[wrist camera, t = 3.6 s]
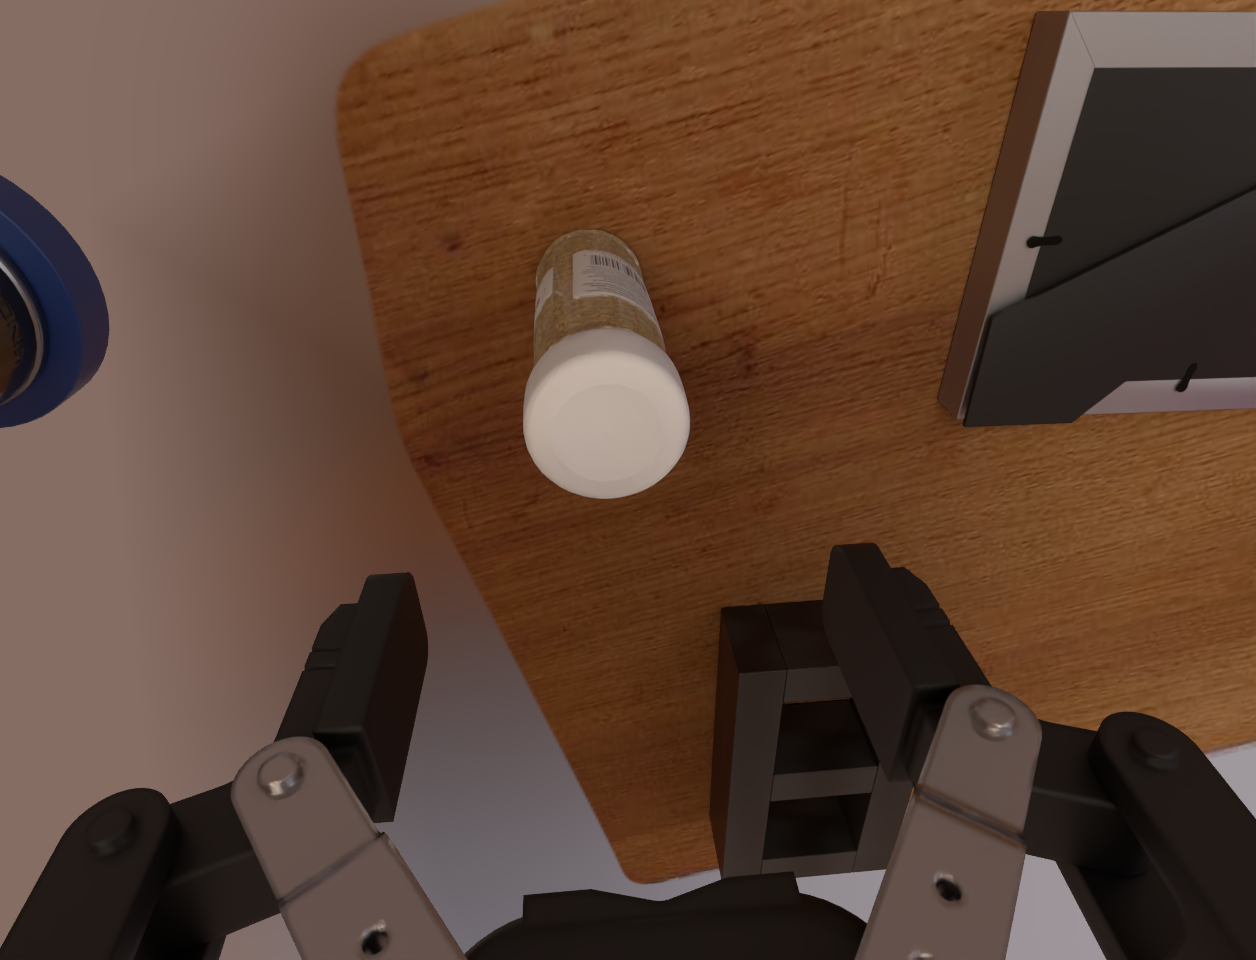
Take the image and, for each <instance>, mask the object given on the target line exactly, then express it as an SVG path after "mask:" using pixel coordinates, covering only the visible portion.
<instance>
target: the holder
mask: <svg viewBox="0 0 1256 960" xmlns="http://www.w3.org/2000/svg"><path fill="white" fill-rule="evenodd" d="M822 605H823V600H821V601H808V602H794V603H781V604H767V605H765V606H764V605H757V606H743V607H730V608H722V609H721V622H720V640H719V657H718V675H717V692H716V709H715V727H714V744H713V761H712V779H711V796H710V813H709V816H710V821H711V827H712V832H713V837H714V843H715V848H716V853H717V859H718V864H719V869H720V874H721V880H722V879H724V878H727V877H734V876H745V875H756V874H768V873H779V872H790V871H794V875H795V878H798V877H809V876H820V875H830V874H840V873H851V872H862V871H872V870H882V869H887V866H888V863H889V860H890V857H891V855H892V852H893V849H894V846H895V843H896V840H897V837H898V835H899V831H900V828H901V825H902V822H903V818H904V815H905V812H906V808H907V805H908V802H909V798H910V795H911V792H912V788H913V785H912V783H911V781H899V782H888V780H887V778H886V776H885V773H884V771H883V769H882V766H881V764H880V762H879V759H878V757H877V754H876V752H875V750H874V747H873V745H872V743H871V740H870V738H869V736H868V733H867V731H866V729H865V726H864V724H863V721H862V719H861V717H860V714H859V712H858V710H857V707H856V705H855V703H854V700H853V698H852V696H851V693H850V691H849V689H848V686H847V684H846V681H845V679H844V677H843V674H842V672H841V670H840V667H839V665H838V663H837V660H836V658H835V656H834V653H833V651H832V649H831V646H830V644H829V641H828V639H827V637H826V633H825V630H824V625H823V617H822ZM849 697H850V700H840V701H828V702H816V703H804V704H791V705H782V703H783V702H784V703H788V702H800V701H812V700H824V699H837V698H849Z"/></svg>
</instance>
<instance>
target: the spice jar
mask: <svg viewBox="0 0 1256 960" xmlns="http://www.w3.org/2000/svg"><path fill="white" fill-rule="evenodd" d="M536 293H537V296H536V303H535V321H534V368H533V370H532V372H531V374H530V377H529V379H528V381H527V385H526V390H525V396H524V407H523V431H524V438H525V442H526V446H527V449H528V451H529V453H530V455H531V457H532V459H533V461H534V463H535V464H536V466H537V467H538V468H539V469H540V471H541V472H542V473H543V474H544V475H545V476H546V477H548V478H549V479H550V480H551V481H552V482H554V483H555V484H557V485H558V486H559V487H561V488H563V489H565V490H567V491H570V492H572V493H575V494H578V495H581V496H585V497H590V498H599V499H610V498H619V497H624V496H628V495H632V494H635V493H638V492H640V491H643V490H645V489H647V488H649V487H651V486H652V485H654V484H656V483H657V482H658V481H659V480H661V479H662V478H663V477H665V476H666V475H667V474H668V473H669V472H670V471H671V469H672V468H673V467H674V466H675V465H676V463H677V462H678V460H679V459H680V457H681V455H682V453H683V451H684V449H685V447H686V443H687V440H688V436H689V430H690V413H689V407H688V403H687V399H686V395H685V391H684V388H683V385H682V382H681V379H680V377H679V374H678V372H677V369H676V368H675V366H674V364H673V362H672V361H671V360H670V358H669V357H668V356H667V355H666V351H665V344H664V340H663V336H662V333H661V330H660V327H659V324H658V321H657V319H656V316H655V313H654V310H653V307H652V304H651V301H650V298H649V295H648V293H647V290H646V287H645V285H644V283H643V277H642V271H641V267H640V264H639V262H638V260H637V258H636V256H635V254H634V253H633V251H632V250H631V249H630V248H629V247H628V245H627V244H625V243H624V242H623V241H621V240H620V239H619V238H618V237H617V236H615V235H613V234H611V233H607V232H605V231H602V230H597V229H584V230H576V231H574V232H570V233H568V234H565V235H562V236H560V237H559V238H557V239H556V240H555V241H554V242H553V243H552V244H551V245H550V246H549V247H548V249H547V250H546V251H545V253H544V255H543V257H542V258H541V260H540V263H539V265H538V268H537V271H536Z"/></svg>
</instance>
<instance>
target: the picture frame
mask: <svg viewBox="0 0 1256 960" xmlns="http://www.w3.org/2000/svg"><path fill="white" fill-rule="evenodd" d="M938 401H939V402H940V403H941V404H942V405H943V406H944V407H945V408H946V409H947V410H948V411H949V412H950V413H951V414H952V415H953V416H954V417H955V418H956V419H964V421H963V426H964V427H977V426H1003V425H1030V424H1056V423H1072V422H1073V421H1075V420H1076V419H1077V418H1079V417H1080V416H1081V415H1084V414H1112V413H1139V412H1166V411H1193V410H1221V409H1248V408H1256V11H1037V12H1036V16H1035V20H1034V24H1033V28H1032V32H1031V36H1030V40H1029V44H1028V47H1027V51H1026V55H1025V59H1024V63H1023V67H1022V71H1021V75H1020V79H1019V83H1018V87H1017V90H1016V94H1015V98H1014V102H1013V106H1012V110H1011V114H1010V118H1009V122H1008V126H1007V130H1006V133H1005V137H1004V141H1003V145H1002V149H1001V153H1000V157H999V161H998V165H997V169H996V173H995V176H994V180H993V184H992V188H991V192H990V196H989V200H988V204H987V208H986V212H985V216H984V220H983V223H982V227H981V231H980V235H979V239H978V243H977V247H976V251H975V255H974V259H973V263H972V266H971V270H970V274H969V278H968V282H967V286H966V290H965V294H964V298H963V302H962V306H961V309H960V313H959V317H958V321H957V325H956V329H955V333H954V337H953V341H952V345H951V349H950V352H949V356H948V360H947V364H946V368H945V372H944V376H943V380H942V384H941V388H940V392H939V396H938Z"/></svg>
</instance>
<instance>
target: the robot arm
mask: <svg viewBox="0 0 1256 960" xmlns="http://www.w3.org/2000/svg"><path fill="white" fill-rule="evenodd" d="M48 352H49V331H48V325H47V320H46V317H45V314H44V311H43V308H42V306H41V303H40V301H39V299H38V297H37V295H36V293H35V291H34V289H33V287H32V286H31V284H30V283H29V281H28V280H27V278H26V277H25V275H24V274H23V273H22V271H21V270H20V269H19V267H18V266H17V265H16V264H15V262H14V261H13V260H12V259H11V258H10V257H9V256H8V255H7V254H6V253H5V252H4V251H3V250H2V249H1V248H0V405H2V404H5V403H7V402H9V401H10V400H12V399H14V398H15V397H17V396H18V395H20V394H21V393H22V392H24V391H25V390H26V389H28V388H29V387H30V386H31V385H32V384H33V383H34V382H35V381H36V380H37V378H38V377H39V376H40V374H41V373H42V371H43V368H44V366H45V364H46V361H47V357H48ZM822 617H823V625H824V630H825V633H826V637H827V639H828V641H829V644H830V646H831V649H832V651H833V653H834V656H835V658H836V660H837V663H838V665H839V667H840V670H841V672H842V674H843V677H844V679H845V681H846V684H847V686H848V689H849V691H850V693H851V696H852V698H853V700H854V703H855V705H856V707H857V710H858V712H859V714H860V717H861V719H862V721H863V724H864V726H865V729H866V731H867V733H868V736H869V738H870V740H871V743H872V745H873V747H874V750H875V752H876V754H877V757H878V759H879V762H880V764H881V766H882V769H883V771H884V773H885V776H886V778H887V780H888V782H899V781H911V783H912V785H913V787H914V792H913V795H912V798H911V800H910V803H909V806H908V809H907V812H906V815H905V818H904V820H903V823H902V826H901V829H900V832H899V835H898V837H897V840H896V843H895V846H894V849H893V852H892V855H891V857H890V860H889V863H888V866H887V869H886V872H885V875H884V878H883V881H882V883H881V886H880V889H879V892H878V895H877V897H876V900H875V903H874V906H873V909H872V912H871V915H870V918H869V920H868V923H866V922H864V921H863V920H861V919H860V918H859V917H857V916H856V915H854V914H852V913H850V912H849V911H847V910H845V909H843V908H842V907H840V906H838V905H835V904H833V903H831V902H828V901H826V900H824V899H820V898H817V897H814V896H811V895H807V894H802V893H799V890H798V886H797V882H796V878H795V875H794V871H790V872H779V873H768V874H756V875H745V876H734V877H727V878H724V879H722V880H719V881H716V882H714V883H711V884H708V885H706V886H703V887H701V888H698V889H695V890H692V891H690V892H687V893H685V894H682V895H680V896H677V897H674V898H671V899H669V900H665V901H653V900H647V899H642V898H637V897H631V896H625V895H620V894H615V893H609V892H603V891H598V890H593V889H588V890H576V891H565V892H553V893H542V894H532V895H524V899H523V917H522V918H519V919H517V920H514V921H512V922H509V923H507V924H506V925H504V926H502V927H500V928H498V929H496V930H494V931H493V932H492V933H490V934H488V935H487V936H486V937H484V938H483V939H481V940H480V941H479V942H477V943H476V944H475V945H474V946H473V947H472V948H470V949H469V950H468V951H467V952H466V953H465V954H463V952H462V950H461V949H460V947H459V946H458V944H457V942H456V941H455V939H454V938H453V936H452V935H451V933H450V931H449V930H448V928H447V927H446V925H445V924H444V922H443V920H442V919H441V917H440V916H439V914H438V913H437V911H436V909H435V908H434V906H433V905H432V903H431V902H430V900H429V899H428V897H427V895H426V894H425V892H424V891H423V889H422V888H421V886H420V884H419V883H418V881H417V880H416V878H415V877H414V875H413V873H412V872H411V870H410V869H409V867H408V866H407V864H406V863H405V861H404V859H403V858H402V857H401V855H400V853H399V851H398V850H397V848H396V847H395V845H394V844H393V842H392V841H391V839H390V838H389V837H388V835H387V834H386V833H385V832H382V833H380V832H379V831H378V829H377V828H376V826H375V825H374V823H381V822H393V820H394V815H395V811H396V807H397V801H398V797H399V792H400V788H401V783H402V779H403V774H404V769H405V765H406V760H407V755H408V751H409V745H410V741H411V737H412V732H413V727H414V722H415V718H416V713H417V708H418V704H419V699H420V694H421V689H422V685H423V680H424V676H425V671H426V666H427V659H428V638H427V631H426V627H425V623H424V619H423V614H422V610H421V606H420V602H419V598H418V594H417V590H416V585H415V581H414V578H413V576H412V574H411V573H409V572H407V573H392V574H377V575H369V576H368V577H367V579H366V581H365V584H364V587H363V590H362V593H361V596H360V598H359V601H358V603H356V604H341V605H340V606H339V607H338V608H337V609H336V610H335V611H334V612H333V613H332V614H331V615H330V616H329V618H327V619H326V620H325V622H324V623H323V624H322V625H321V627H320V629H319V631H318V634H317V636H316V639H315V641H314V644H313V647H312V652H310V654H309V656H308V659H307V661H306V664H305V670H304V671H302V674H301V676H300V679H299V681H298V684H297V686H296V689H295V691H294V694H293V696H292V699H291V701H290V703H289V706H288V708H287V711H286V713H285V716H284V718H283V721H282V723H281V726H280V728H279V731H278V733H277V736H276V738H275V740H274V742H273V743H272V744H270V745H268V746H266V747H264V748H262V749H261V750H259V751H258V752H256V753H255V754H254V755H253V756H251V757H250V758H249V760H247V761H246V762H245V763H244V765H243V766H242V767H241V768H240V770H239V771H238V773H237V774H236V776H235V778H234V780H233V781H231V782H229V783H227V784H225V785H223V786H220V787H218V788H215V789H212V790H209V791H206V792H203V793H200V794H198V795H195V796H192V797H189V798H186V799H183V800H181V801H177V802H175V803H172V804H169V802H168V801H167V799H166V798H165V797H164V795H163V794H161V793H160V792H158V791H156V790H153V789H148V788H135V789H129V790H125V791H122V792H119V793H116V794H114V795H111V796H109V797H107V798H105V799H103V800H101V801H99V802H98V803H96V804H95V805H93V806H92V807H90V808H89V809H88V810H86V811H85V812H84V813H83V814H81V815H80V816H79V817H78V818H77V819H76V820H75V821H74V822H73V823H72V824H71V825H70V827H69V828H68V829H67V830H66V831H65V833H64V835H63V836H62V838H61V839H60V841H59V843H58V845H57V846H56V848H55V850H54V852H53V854H52V856H51V857H50V859H49V861H48V863H47V865H46V866H45V868H44V870H43V872H42V874H41V875H40V877H39V879H38V881H37V883H36V885H35V886H34V888H33V890H32V892H31V894H30V895H29V897H28V899H27V901H26V903H25V904H24V906H23V908H22V910H21V912H20V914H19V915H18V917H17V919H16V921H15V923H14V924H13V926H12V928H11V930H10V932H9V933H8V935H7V937H6V939H5V941H4V943H3V944H2V946H1V948H0V960H219V957H220V954H221V951H222V948H223V944H224V941H225V938H226V935H228V934H230V933H232V932H235V931H237V930H240V929H242V928H244V927H247V926H249V925H252V924H254V923H256V922H259V921H261V920H264V919H266V918H269V917H271V916H274V915H276V914H278V913H281V914H282V917H283V919H284V921H285V923H286V926H287V928H288V930H289V932H290V934H291V937H292V939H293V941H294V943H295V945H296V947H297V949H298V952H299V954H300V956H301V958H302V960H1005V957H1006V952H1007V947H1008V942H1009V937H1010V931H1011V927H1012V921H1013V916H1014V911H1015V906H1016V901H1017V895H1018V890H1019V885H1020V880H1021V875H1022V870H1023V864H1024V859H1025V854H1028V855H1032V856H1036V857H1041V858H1045V859H1050V860H1054V861H1056V863H1057V865H1058V867H1059V869H1060V871H1061V873H1062V875H1063V877H1064V879H1065V881H1066V883H1067V885H1068V886H1069V888H1070V890H1071V892H1072V894H1073V896H1074V898H1075V900H1076V902H1077V904H1078V906H1079V908H1080V909H1081V911H1082V913H1083V915H1084V917H1085V919H1086V921H1087V923H1088V925H1089V927H1090V929H1091V931H1092V933H1093V934H1094V936H1095V938H1096V940H1097V942H1098V944H1099V946H1100V948H1101V950H1102V952H1103V954H1104V956H1105V958H1106V959H1107V960H1256V819H1255V818H1254V816H1253V815H1252V814H1251V812H1250V811H1249V810H1248V809H1247V807H1246V806H1245V805H1244V804H1243V803H1242V801H1241V800H1240V799H1239V798H1238V796H1237V795H1236V794H1235V792H1234V791H1233V790H1232V789H1231V787H1230V786H1229V785H1228V784H1227V783H1226V781H1225V780H1224V779H1223V777H1222V776H1221V775H1220V774H1219V772H1218V771H1217V770H1216V769H1215V767H1214V766H1213V765H1212V764H1211V762H1210V761H1209V760H1208V759H1207V757H1206V756H1205V755H1204V754H1203V752H1202V751H1201V750H1200V748H1199V747H1198V746H1197V745H1196V744H1195V743H1194V742H1193V741H1192V740H1191V739H1190V738H1189V737H1188V736H1187V735H1185V734H1184V733H1183V732H1181V731H1180V730H1178V729H1177V728H1175V727H1174V726H1172V725H1170V724H1169V723H1166V722H1164V721H1162V720H1160V719H1158V718H1155V717H1152V716H1149V715H1146V714H1142V713H1136V712H1118V713H1114V714H1111V715H1109V716H1107V717H1106V718H1105V719H1104V720H1103V721H1102V723H1101V725H1100V727H1099V729H1098V731H1093V730H1087V729H1082V728H1077V727H1071V726H1066V725H1061V724H1055V723H1050V722H1046V721H1042V720H1040V719H1037V717H1036V716H1035V714H1034V713H1033V712H1032V710H1031V709H1030V708H1029V707H1028V706H1027V705H1026V704H1025V703H1023V702H1022V701H1021V700H1019V699H1018V698H1017V697H1015V696H1013V695H1011V694H1010V693H1008V692H1005V691H1003V690H1001V689H998V688H995V687H992V686H991V685H990V683H989V681H988V680H987V678H986V677H985V675H984V674H983V672H982V670H981V669H980V667H979V666H978V664H977V663H976V661H975V660H974V658H973V656H972V655H971V653H970V652H969V650H968V649H967V647H966V646H965V644H964V642H963V641H962V639H961V638H960V636H959V635H958V633H957V631H956V630H955V628H954V627H953V625H950V621H949V619H948V617H947V616H946V614H945V613H944V611H943V610H942V609H940V608H939V603H938V602H937V600H936V599H935V597H934V596H933V594H932V593H931V591H930V589H929V588H928V586H927V585H926V584H925V583H924V582H923V581H921V580H920V579H919V578H917V577H916V576H915V575H914V574H912V573H911V572H910V571H908V570H907V569H906V568H905V567H899V568H890V566H889V564H888V563H887V561H886V559H885V558H884V556H883V554H882V553H881V551H880V549H879V548H878V546H877V545H876V544H875V543H860V544H845V545H835V546H834V547H833V548H832V550H831V554H830V560H829V566H828V573H827V579H826V585H825V592H824V598H823V605H822Z"/></svg>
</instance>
